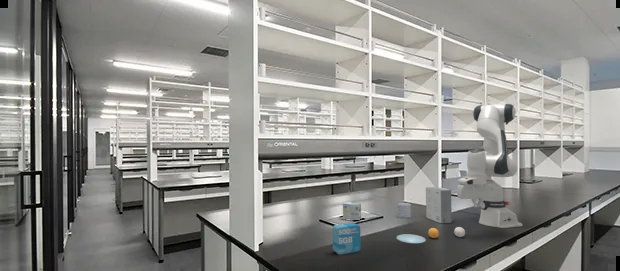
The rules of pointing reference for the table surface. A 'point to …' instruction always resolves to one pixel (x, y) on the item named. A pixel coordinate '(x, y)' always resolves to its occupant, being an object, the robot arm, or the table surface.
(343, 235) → the data package
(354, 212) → the light bulb box
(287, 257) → the table surface
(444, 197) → the hard drive box
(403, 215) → the medicine box
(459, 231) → the white ball
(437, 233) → the orange ball
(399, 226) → the table surface
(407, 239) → the blue mark
